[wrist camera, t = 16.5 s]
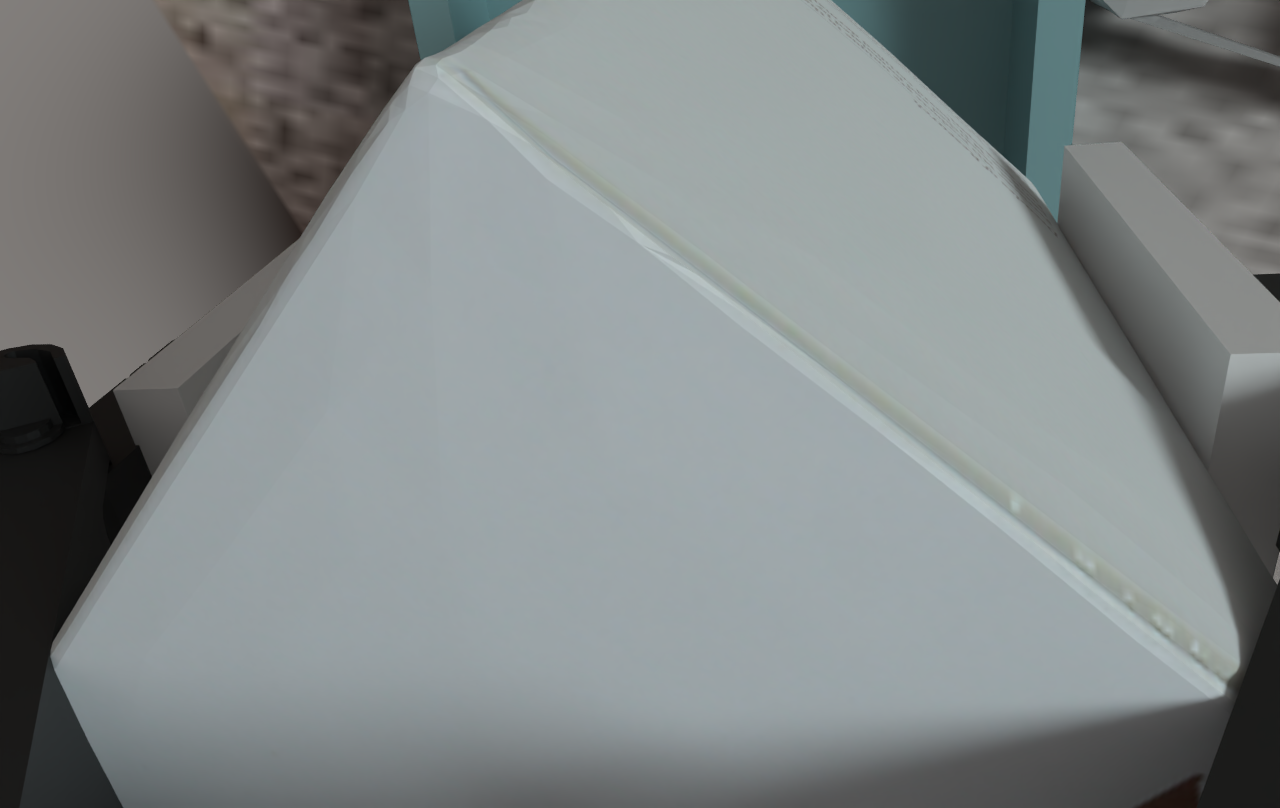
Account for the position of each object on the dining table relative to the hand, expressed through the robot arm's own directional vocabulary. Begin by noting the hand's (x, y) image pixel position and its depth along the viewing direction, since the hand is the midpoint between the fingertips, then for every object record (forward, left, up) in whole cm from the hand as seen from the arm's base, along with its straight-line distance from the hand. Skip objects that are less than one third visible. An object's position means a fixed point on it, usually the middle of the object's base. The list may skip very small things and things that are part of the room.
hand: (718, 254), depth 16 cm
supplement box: (0, 0, -3) cm, 3 cm away
